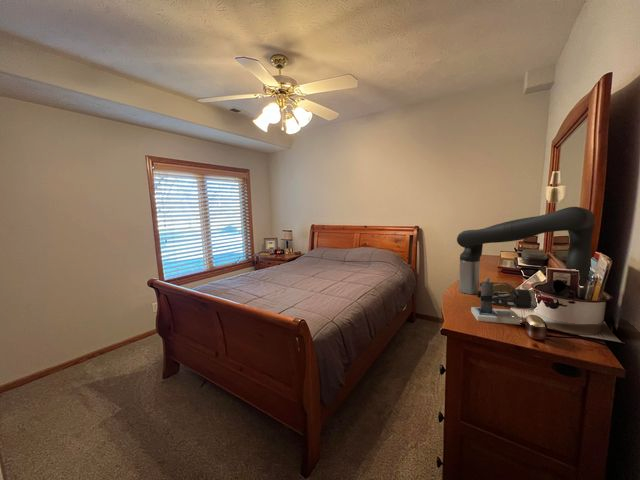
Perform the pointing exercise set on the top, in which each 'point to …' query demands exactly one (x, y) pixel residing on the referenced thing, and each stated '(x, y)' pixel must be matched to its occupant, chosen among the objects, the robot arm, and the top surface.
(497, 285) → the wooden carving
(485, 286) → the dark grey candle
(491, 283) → the carrying case or bag
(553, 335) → the top surface
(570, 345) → the top surface
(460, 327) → the top surface
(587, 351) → the top surface
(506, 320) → the duct plate
